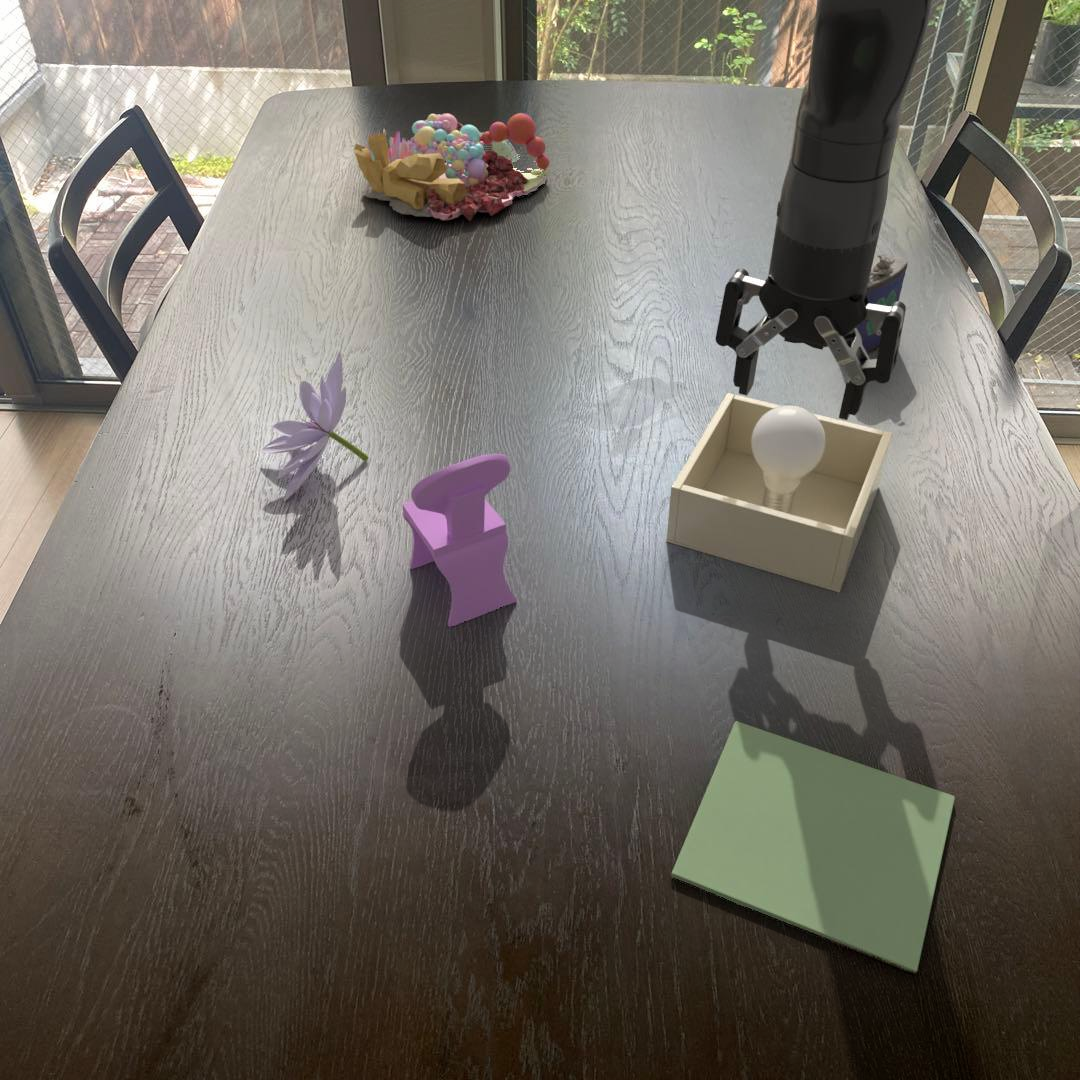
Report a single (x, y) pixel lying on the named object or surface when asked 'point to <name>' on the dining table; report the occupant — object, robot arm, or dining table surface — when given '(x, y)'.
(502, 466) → the toy chair
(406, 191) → the candy landscape model
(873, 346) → the flask
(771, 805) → the mat
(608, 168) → the dining table surface
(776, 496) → the lightbulb
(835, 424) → the open wooden box
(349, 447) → the water lily
